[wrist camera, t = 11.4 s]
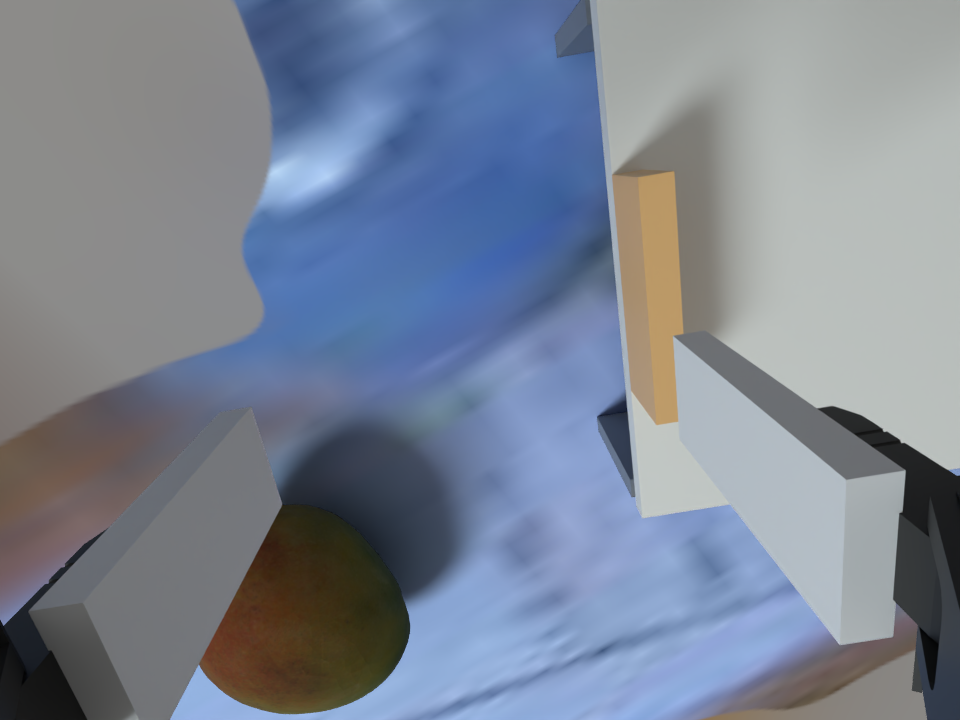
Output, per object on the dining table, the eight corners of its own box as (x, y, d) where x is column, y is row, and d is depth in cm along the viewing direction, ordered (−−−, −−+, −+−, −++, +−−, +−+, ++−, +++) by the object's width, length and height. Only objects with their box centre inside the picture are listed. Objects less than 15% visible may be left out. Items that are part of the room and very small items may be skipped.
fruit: (274, 446, 36) (207, 549, 27) (454, 529, 38) (452, 650, 29) (205, 585, 39) (124, 720, 30) (376, 653, 41) (351, 799, 32)
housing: (554, 35, 29) (584, -5, 22) (1231, -87, 28) (1490, -170, 21) (598, 431, 36) (631, 497, 29) (1141, 343, 35) (1312, 388, 28)
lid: (588, -11, 21) (620, -55, 17) (1063, -98, 21) (1216, -164, 17) (636, 506, 28) (667, 567, 24) (991, 450, 28) (1086, 501, 24)
